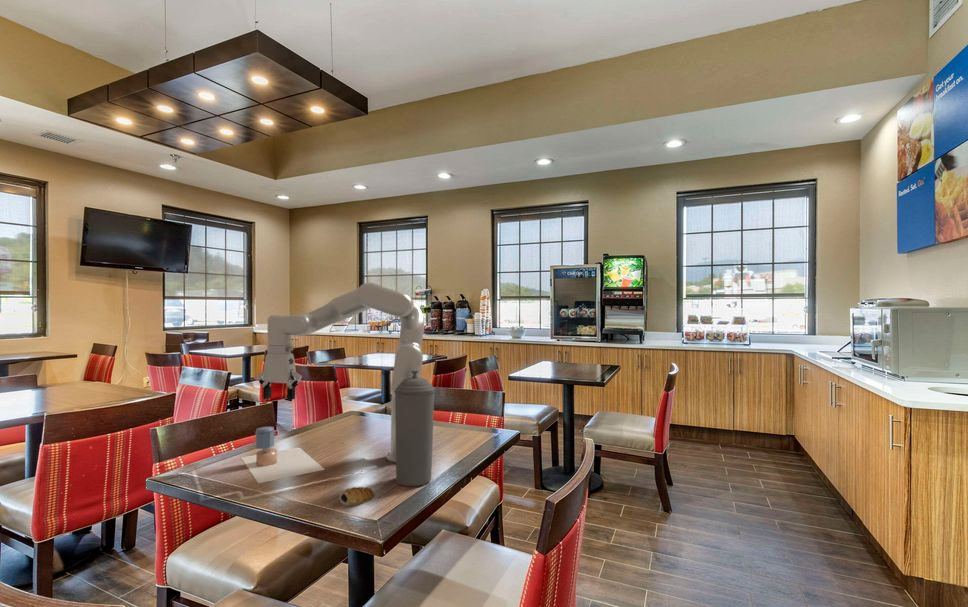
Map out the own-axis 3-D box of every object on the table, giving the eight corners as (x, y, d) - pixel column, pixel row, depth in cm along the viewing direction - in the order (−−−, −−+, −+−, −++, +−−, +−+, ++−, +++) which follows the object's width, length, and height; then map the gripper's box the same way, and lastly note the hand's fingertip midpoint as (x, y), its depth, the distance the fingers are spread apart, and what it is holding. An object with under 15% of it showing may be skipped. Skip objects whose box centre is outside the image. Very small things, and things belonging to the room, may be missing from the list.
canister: (440, 483, 138) (442, 371, 139) (402, 492, 131) (403, 373, 132) (423, 471, 148) (425, 366, 149) (387, 478, 142) (388, 368, 143)
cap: (272, 443, 155) (272, 425, 155) (274, 446, 151) (275, 429, 151) (254, 445, 152) (254, 428, 152) (256, 449, 148) (257, 431, 148)
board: (325, 472, 146) (325, 469, 146) (258, 486, 134) (258, 483, 134) (299, 450, 170) (299, 447, 170) (240, 460, 158) (240, 457, 158)
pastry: (366, 492, 131) (366, 479, 131) (379, 499, 126) (379, 486, 126) (336, 502, 124) (337, 488, 124) (348, 510, 119) (349, 495, 120)
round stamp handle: (279, 463, 151) (279, 431, 152) (258, 467, 148) (259, 434, 148) (274, 458, 157) (275, 427, 157) (254, 462, 153) (255, 430, 153)
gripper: (307, 349, 157) (307, 397, 157) (265, 348, 161) (265, 396, 160) (293, 351, 150) (293, 402, 149) (250, 350, 154) (250, 400, 153)
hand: (279, 399), depth 155 cm, fingers open, 9 cm apart
